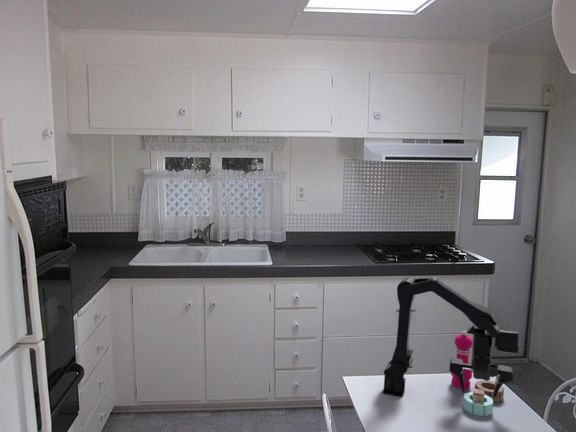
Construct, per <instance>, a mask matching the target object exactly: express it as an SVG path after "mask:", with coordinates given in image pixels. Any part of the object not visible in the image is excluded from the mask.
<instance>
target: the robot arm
mask: <svg viewBox="0 0 576 432" xmlns="http://www.w3.org/2000/svg"><path fill="white" fill-rule="evenodd" d="M396 292H397V301H398V304H399V311H398V320H397V321H398V322H397V323H398V324H397V333H396V342H395V343H396V345H395V349H394V352H393V355H392V357H391V360H389V362H388V363H387V364H386V367H385V369H384V370H383V375H384V379H383V390H382V393H383V394H385V395H386V394H387V395H392V396H397V397H403V394H404V393H405V392H406V378H405V374H406V373H407V372H408V370H409V369H410V368H411V366H412V363H413V361H414V359H413V355H414V349H410V345H409V342H410V332H411V320H412V309H413V308H412V307H413V303H414V299H415V297H416V295H421V294H425V293H429V292H432V293H434V294H435V295H436V296H439V298H441V299H443V301H446V302H447V303H449V304H450V305H451V306H453V307H454V308H455V309H457V310H459V311H460V312H462V313H463V314H464V315H465V316H466V317H467V318H468V320H469V321H470V322H471V323H472V325H471V326H470V327H468V328H467V330H466V332H467V334H470V335H472V342H473V344H472V347H471V361H470V362H471V363H469V364H465V363H463V359H456V357H451V358H450V359H449V370H448V371H449V372H450V373H451V372H453V374H454V375H457V376H458V378H459V381H460V384H461V388H462V389H461V390H462V393H464V394H465V389H464V377H463V370H470V371H472V378H473V379H476V380H486V381H491V378H494V377H495V381H494V382H495V386H494V391H493V398H495V397H496V395H497V393H498V391H499V389H500V387H501V386H502V387H503V385H504V384H508V383H509V382H510V383H511V382H514V371H513V368H512V367H511V366H508V365H504V364H503V365H500V364H498V365H497V364H493V363H492V350H493V348H496V350H497V352H501V353H506V354H508V353H509V354H512V355H518V353H519V332H518V331H516V330H512V331H511V330H504V329H500V326H499V325H498V323H497V322H496V320H495V315H494V312H493V310H491V309H490V308H489V307H486V306H484V305H482V304H478V302H477V303H476V302H473V301H471V300H469V299H467V298H466V297H465V296H463V295H462V294H460V293H458V291H456V290H454V289H453V288H451V287H449V285H447V284H446V283H443V282H442V281H441V280H439V278H437V277H434V276H431V277H423V278H414V279H413V278H412V277H405V278H403V279H402V280H401V281H400V282H399V283H398V285H397V287H396ZM493 339H494V345H493ZM493 346H494V347H493Z"/></svg>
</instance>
